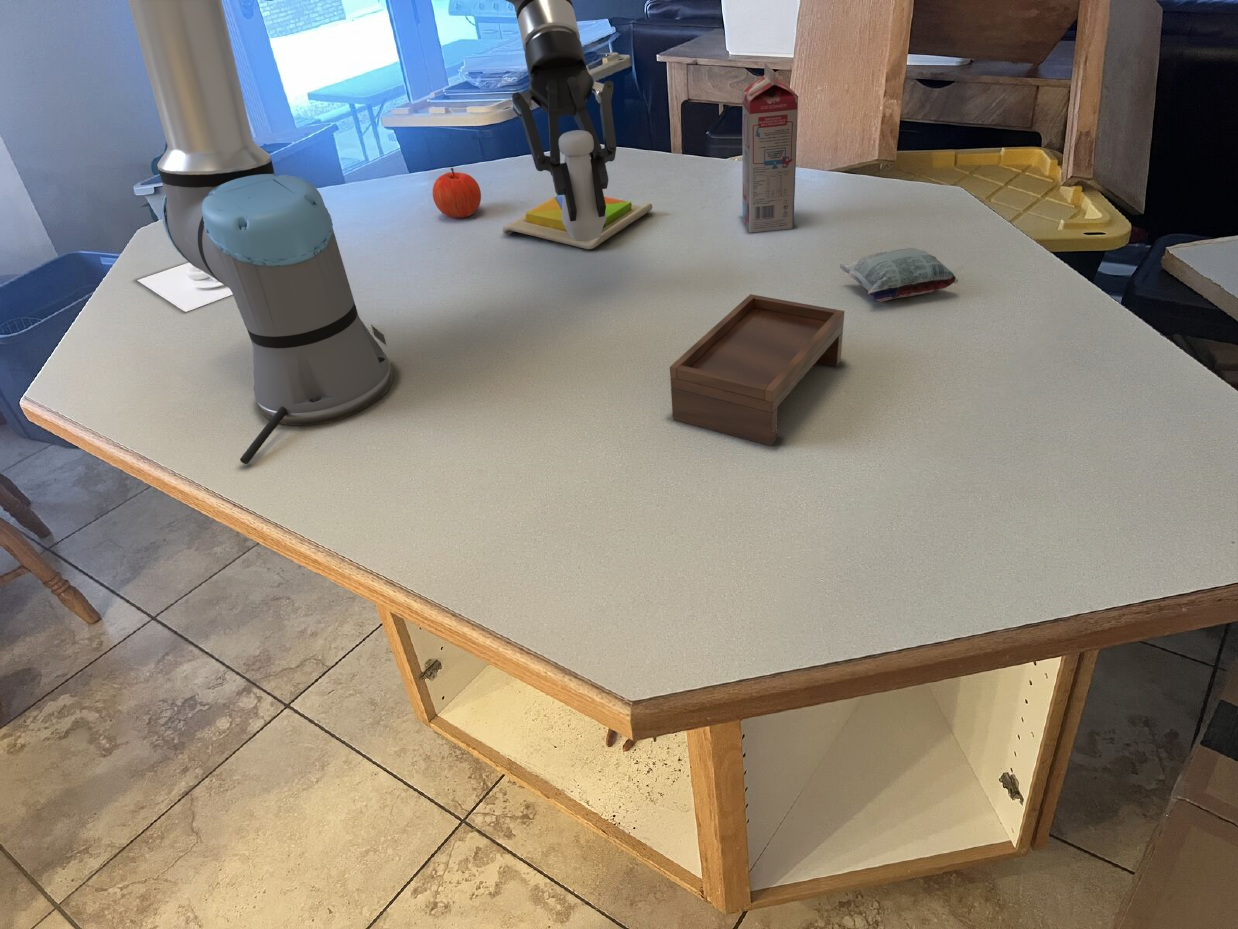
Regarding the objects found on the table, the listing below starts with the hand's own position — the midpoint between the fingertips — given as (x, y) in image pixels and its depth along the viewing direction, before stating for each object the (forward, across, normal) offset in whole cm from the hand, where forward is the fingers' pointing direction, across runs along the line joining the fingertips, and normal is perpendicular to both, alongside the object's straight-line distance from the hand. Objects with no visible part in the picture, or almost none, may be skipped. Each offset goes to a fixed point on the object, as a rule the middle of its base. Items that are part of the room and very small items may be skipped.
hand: (587, 213), depth 103 cm
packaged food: (+17, -36, +1) cm, 40 cm away
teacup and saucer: (-15, +54, -32) cm, 65 cm away
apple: (-22, +16, -39) cm, 47 cm away
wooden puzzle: (-12, -2, -28) cm, 31 cm away
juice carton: (-4, -30, -20) cm, 36 cm away
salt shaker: (0, 0, -6) cm, 6 cm away
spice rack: (+29, -12, +12) cm, 34 cm away
